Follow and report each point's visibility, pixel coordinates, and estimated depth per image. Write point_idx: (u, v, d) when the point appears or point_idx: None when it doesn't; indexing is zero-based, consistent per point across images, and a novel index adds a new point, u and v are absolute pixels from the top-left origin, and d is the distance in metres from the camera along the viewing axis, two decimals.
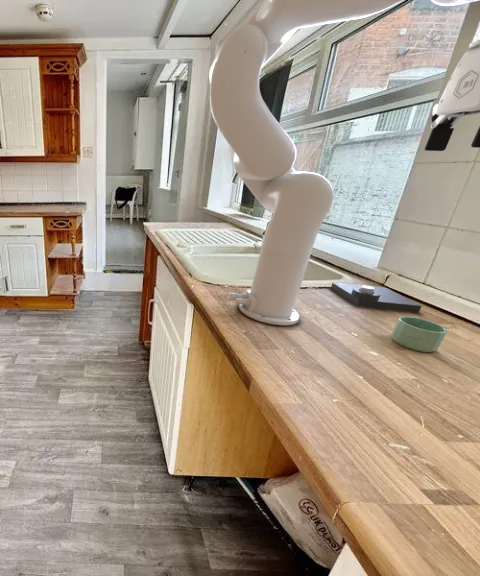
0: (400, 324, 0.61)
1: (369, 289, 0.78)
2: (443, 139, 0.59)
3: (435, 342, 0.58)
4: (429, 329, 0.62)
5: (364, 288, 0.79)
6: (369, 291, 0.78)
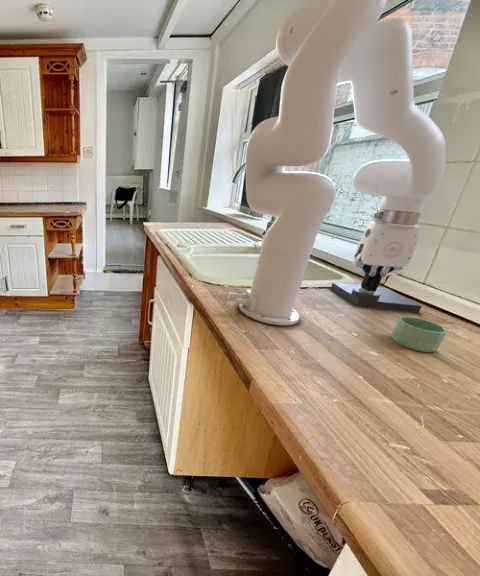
0: (400, 324, 0.61)
1: (368, 291, 0.78)
2: None
3: (435, 342, 0.58)
4: (429, 329, 0.62)
5: (363, 290, 0.79)
6: (368, 293, 0.78)
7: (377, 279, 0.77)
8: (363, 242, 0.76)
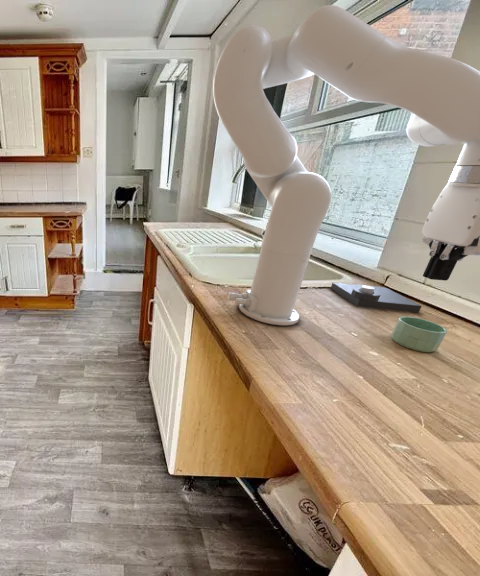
0: (400, 324, 0.61)
1: (369, 289, 0.78)
2: None
3: (435, 342, 0.58)
4: (429, 329, 0.62)
5: (364, 288, 0.79)
6: (369, 291, 0.78)
7: None
8: None
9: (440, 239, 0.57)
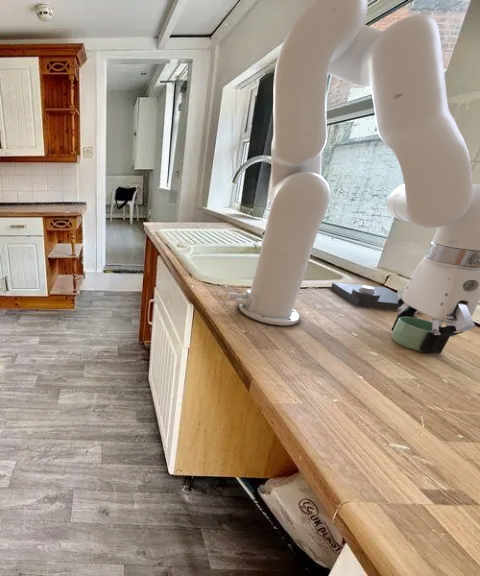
0: (400, 324, 0.61)
1: (369, 289, 0.78)
2: None
3: None
4: (429, 329, 0.62)
5: (364, 288, 0.79)
6: (369, 291, 0.78)
7: None
8: (465, 298, 0.53)
9: (417, 309, 0.59)
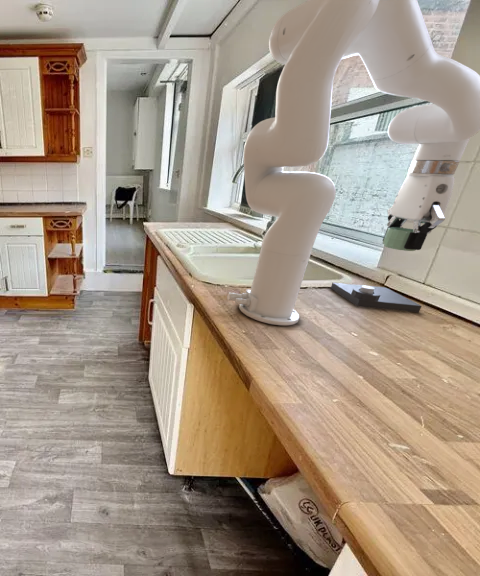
0: (389, 231, 0.76)
1: (369, 289, 0.78)
2: None
3: None
4: None
5: (364, 288, 0.79)
6: (369, 291, 0.78)
7: None
8: (438, 199, 0.68)
9: (402, 216, 0.75)
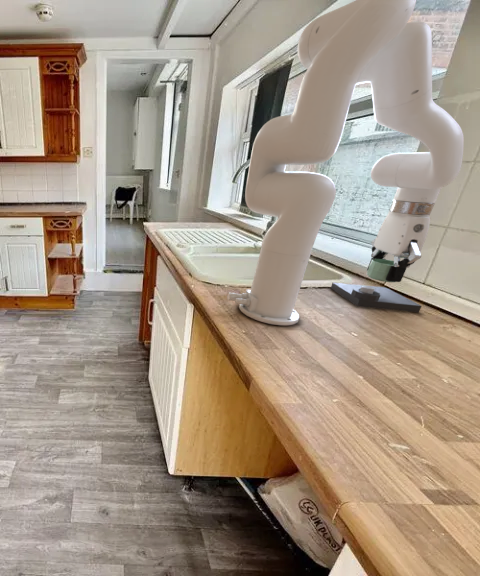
0: (372, 263, 0.82)
1: (369, 289, 0.78)
2: None
3: None
4: None
5: (364, 288, 0.79)
6: (369, 291, 0.78)
7: None
8: (415, 238, 0.74)
9: (384, 250, 0.80)
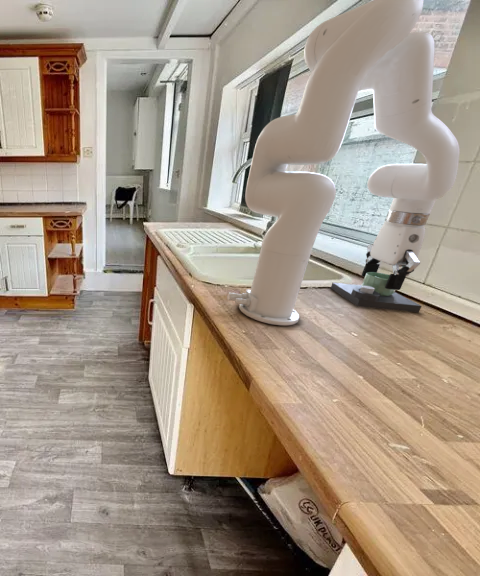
0: (367, 276, 0.84)
1: (369, 289, 0.78)
2: None
3: None
4: None
5: (364, 288, 0.79)
6: (369, 291, 0.78)
7: None
8: (410, 248, 0.75)
9: (379, 259, 0.81)
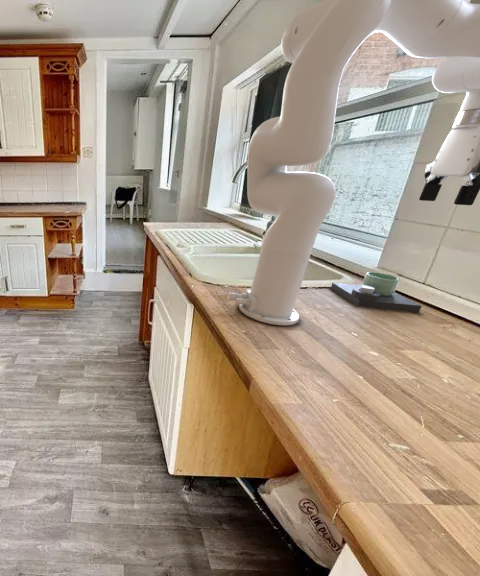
0: (367, 276, 0.84)
1: (369, 289, 0.78)
2: None
3: (391, 287, 0.80)
4: None
5: (364, 288, 0.79)
6: (369, 291, 0.78)
7: None
8: None
9: (445, 173, 0.70)
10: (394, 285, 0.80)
